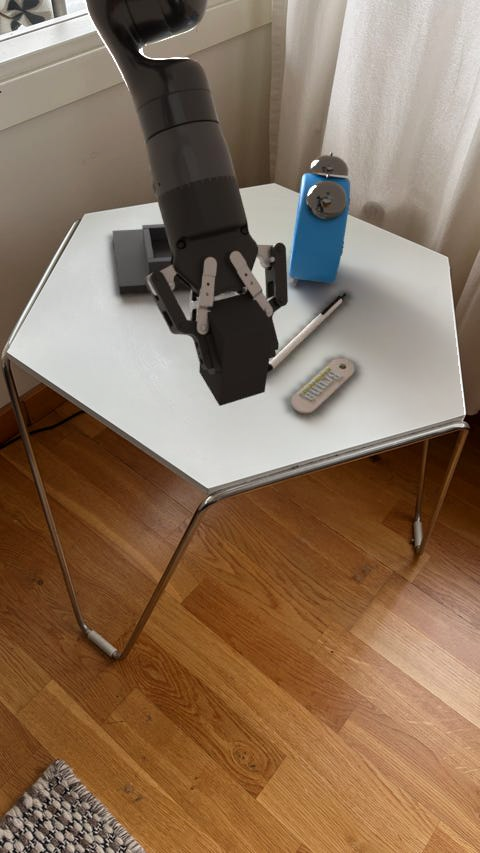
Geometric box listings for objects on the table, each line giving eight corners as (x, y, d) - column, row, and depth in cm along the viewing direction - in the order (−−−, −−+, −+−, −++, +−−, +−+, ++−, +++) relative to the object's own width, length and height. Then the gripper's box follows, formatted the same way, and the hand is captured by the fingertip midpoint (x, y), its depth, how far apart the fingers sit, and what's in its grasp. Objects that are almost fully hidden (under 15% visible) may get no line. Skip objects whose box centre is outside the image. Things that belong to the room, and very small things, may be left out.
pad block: (219, 406, 69) (224, 338, 62) (199, 372, 72) (201, 303, 65) (264, 392, 71) (274, 325, 64) (243, 359, 74) (250, 291, 67)
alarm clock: (292, 240, 100) (307, 139, 89) (336, 245, 100) (356, 145, 89) (285, 299, 92) (300, 197, 80) (332, 305, 92) (354, 203, 80)
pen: (347, 298, 93) (349, 291, 92) (264, 379, 83) (265, 372, 82) (341, 295, 93) (343, 288, 92) (258, 375, 83) (258, 369, 82)
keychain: (339, 352, 85) (360, 365, 84) (338, 356, 86) (359, 368, 84) (286, 400, 80) (307, 414, 79) (285, 403, 80) (307, 417, 79)
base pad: (119, 294, 90) (118, 274, 88) (113, 237, 98) (111, 218, 95) (242, 285, 93) (244, 266, 91) (226, 231, 101) (228, 212, 98)
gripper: (129, 189, 59) (184, 386, 61) (281, 160, 64) (326, 344, 66) (112, 210, 66) (162, 386, 68) (250, 182, 71) (292, 348, 73)
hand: (242, 364), depth 67 cm, fingers closed on pad block, 5 cm apart
